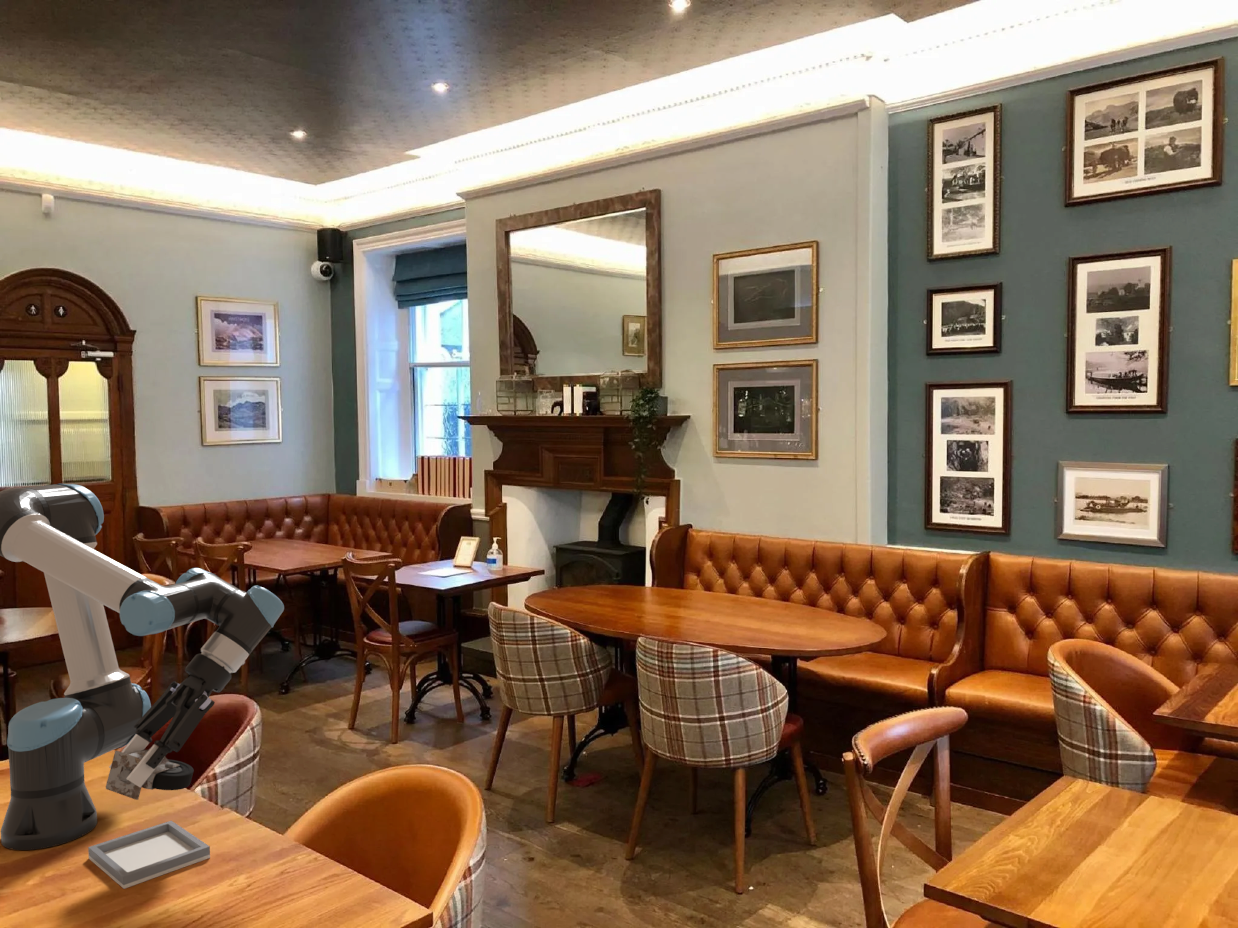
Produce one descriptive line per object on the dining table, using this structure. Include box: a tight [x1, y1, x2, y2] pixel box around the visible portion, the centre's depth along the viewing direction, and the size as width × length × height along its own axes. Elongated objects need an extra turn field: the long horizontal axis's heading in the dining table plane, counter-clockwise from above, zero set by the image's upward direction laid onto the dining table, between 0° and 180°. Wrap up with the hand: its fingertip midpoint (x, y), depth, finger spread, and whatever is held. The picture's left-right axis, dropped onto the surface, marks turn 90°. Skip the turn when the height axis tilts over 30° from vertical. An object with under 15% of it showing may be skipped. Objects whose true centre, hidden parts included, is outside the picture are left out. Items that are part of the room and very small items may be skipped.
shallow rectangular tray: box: [87, 820, 211, 889], centre depth 160 cm, size 16×14×2 cm
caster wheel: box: [105, 749, 195, 801], centre depth 160 cm, size 7×11×10 cm
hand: (124, 776), depth 157 cm, fingers closed on caster wheel, 7 cm apart
